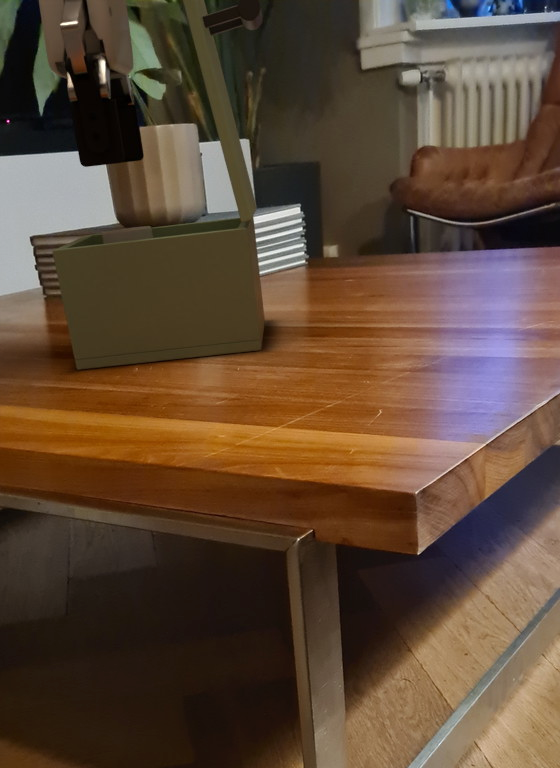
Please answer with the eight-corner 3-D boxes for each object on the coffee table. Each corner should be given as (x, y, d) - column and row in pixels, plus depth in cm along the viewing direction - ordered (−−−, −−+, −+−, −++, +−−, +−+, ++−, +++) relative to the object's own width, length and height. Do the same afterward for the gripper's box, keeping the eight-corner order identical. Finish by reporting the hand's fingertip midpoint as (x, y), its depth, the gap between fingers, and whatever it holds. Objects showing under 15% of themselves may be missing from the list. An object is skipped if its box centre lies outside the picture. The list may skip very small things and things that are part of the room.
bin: (76, 370, 72) (51, 250, 68) (105, 339, 83) (85, 235, 79) (261, 350, 71) (247, 228, 67) (264, 322, 82) (253, 215, 78)
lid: (176, -25, 60) (248, -48, 59) (193, 1, 71) (254, -18, 70) (241, 222, 67) (306, 204, 66) (248, 211, 78) (303, 195, 77)
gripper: (45, -80, 71) (88, 166, 79) (-23, -142, 55) (40, 172, 63) (141, -93, 70) (175, 156, 78) (99, -158, 55) (147, 160, 63)
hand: (114, 163), depth 71 cm, fingers open, 9 cm apart
